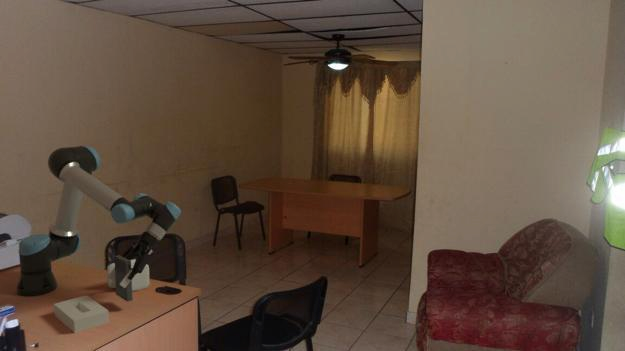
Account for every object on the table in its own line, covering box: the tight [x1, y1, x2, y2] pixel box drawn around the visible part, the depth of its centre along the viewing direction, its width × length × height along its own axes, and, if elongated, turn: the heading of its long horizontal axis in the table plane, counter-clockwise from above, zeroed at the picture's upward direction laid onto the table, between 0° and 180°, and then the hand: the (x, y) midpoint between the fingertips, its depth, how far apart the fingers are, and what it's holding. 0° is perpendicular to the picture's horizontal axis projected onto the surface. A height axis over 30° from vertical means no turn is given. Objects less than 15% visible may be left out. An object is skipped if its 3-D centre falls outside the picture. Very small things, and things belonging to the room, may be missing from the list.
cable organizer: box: [106, 258, 150, 292], centre depth 207 cm, size 15×11×12 cm
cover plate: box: [114, 254, 133, 302], centre depth 184 cm, size 10×2×16 cm, turn 47°
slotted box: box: [53, 295, 110, 334], centre depth 174 cm, size 20×12×6 cm, turn 47°
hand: (115, 282), depth 182 cm, fingers closed on cover plate, 10 cm apart
